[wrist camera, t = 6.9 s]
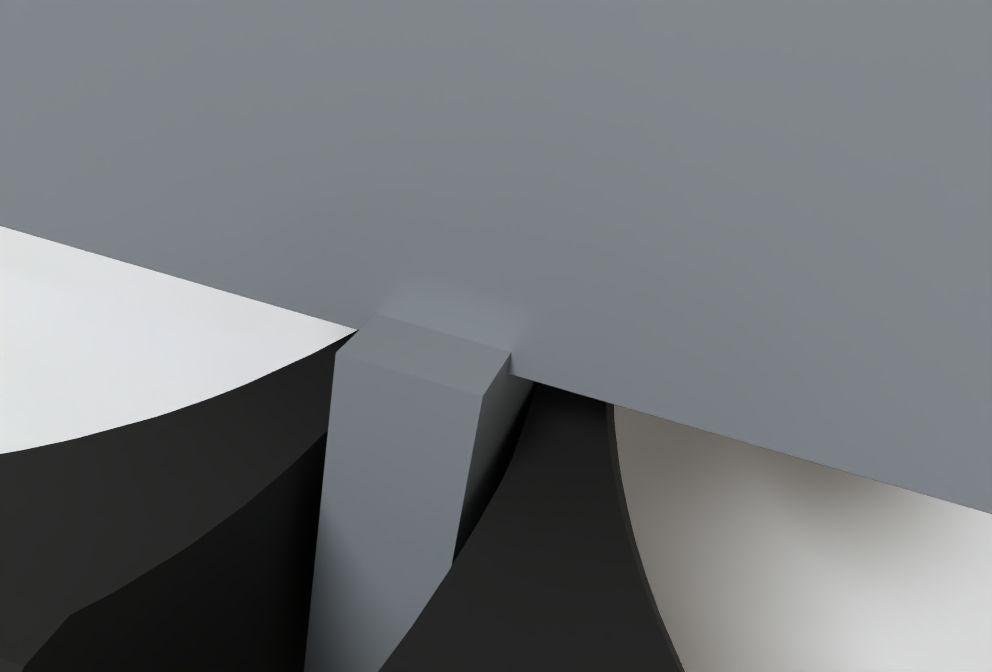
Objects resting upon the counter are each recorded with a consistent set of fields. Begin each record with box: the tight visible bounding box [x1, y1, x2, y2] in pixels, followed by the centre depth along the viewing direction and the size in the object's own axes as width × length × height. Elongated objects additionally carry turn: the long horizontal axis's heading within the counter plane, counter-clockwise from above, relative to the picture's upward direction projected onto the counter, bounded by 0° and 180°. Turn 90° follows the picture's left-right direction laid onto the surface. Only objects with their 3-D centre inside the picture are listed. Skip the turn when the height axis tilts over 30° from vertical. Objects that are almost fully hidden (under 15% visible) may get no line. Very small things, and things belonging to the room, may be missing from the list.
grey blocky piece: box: [0, 0, 992, 672], centre depth 10 cm, size 14×9×8 cm, turn 172°
